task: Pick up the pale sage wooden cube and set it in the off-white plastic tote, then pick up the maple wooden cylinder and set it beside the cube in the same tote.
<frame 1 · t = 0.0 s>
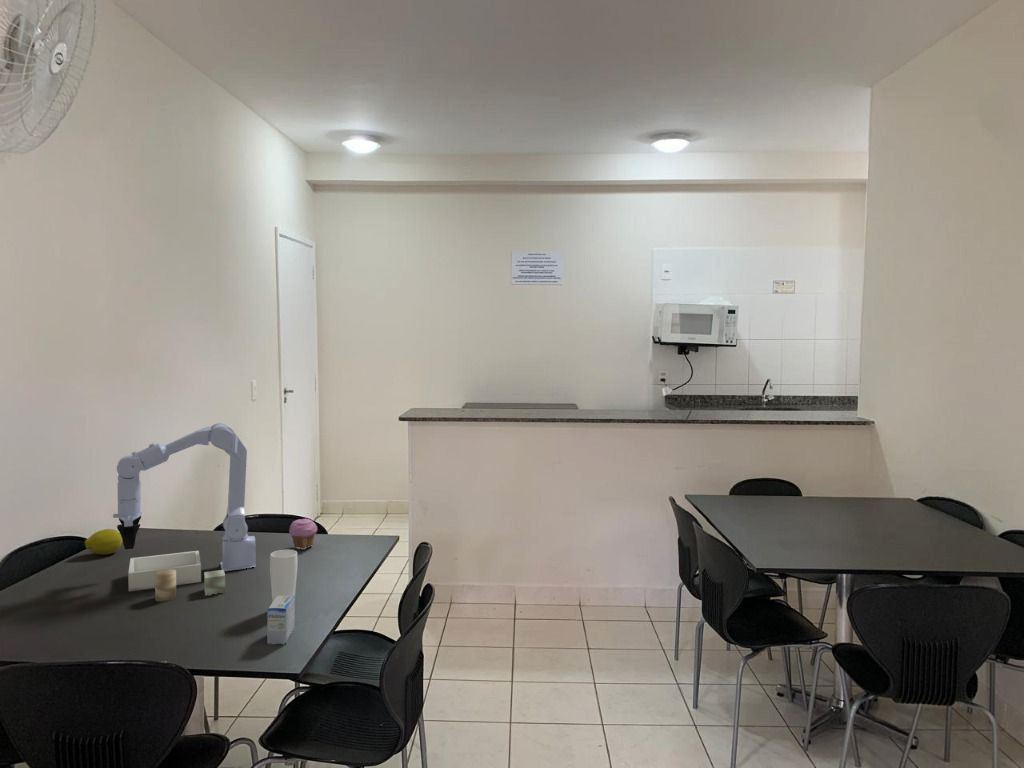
hand: (129, 545, 190), 10 cm above the table, tool pointing down, fingers open, 7 cm apart
drinking glass: (283, 610, 172), on the table
cupcake: (303, 548, 222), on the table
lemon: (104, 555, 211), on the table
sage cube: (214, 591, 183), on the table
medicine box: (281, 638, 156), on the table
tote: (165, 578, 192), on the table
wooden cylinder: (165, 598, 178), on the table
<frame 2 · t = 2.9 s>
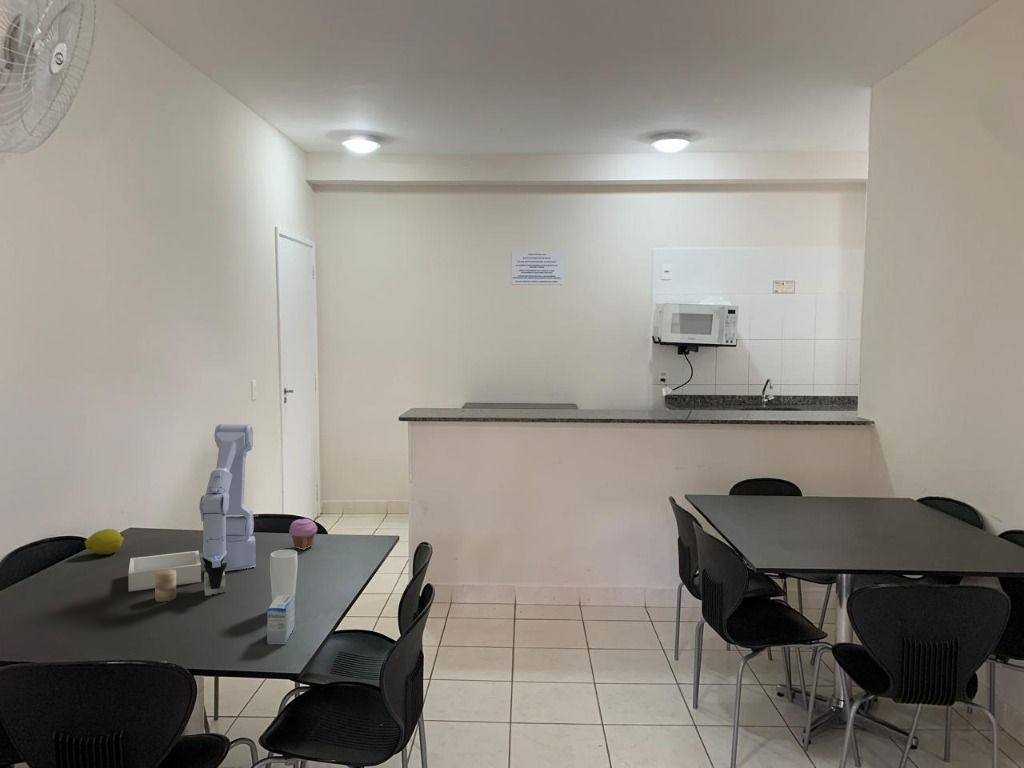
hand: (214, 585, 183), 2 cm above the table, tool pointing down, fingers closed on sage cube, 5 cm apart
sage cube: (214, 591, 183), on the table, touching gripper
everything else where it was.
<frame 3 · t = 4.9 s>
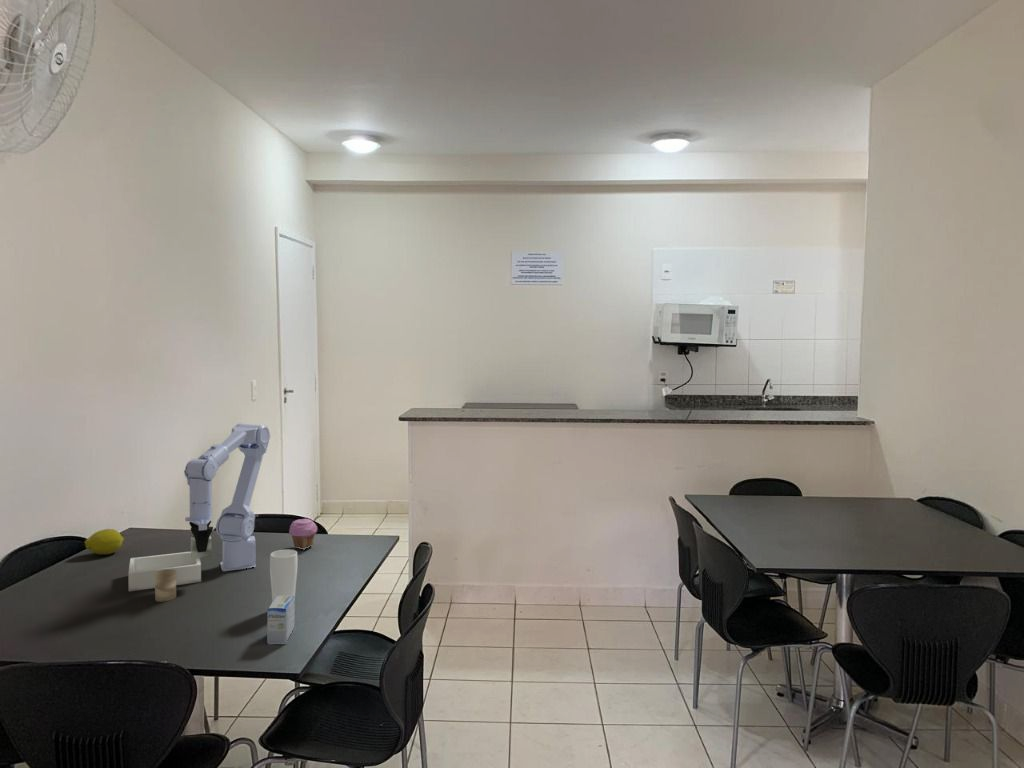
hand: (201, 548, 187), 10 cm above the table, tool pointing down, fingers closed on sage cube, 5 cm apart
sage cube: (201, 555, 187), point 9 cm above the table, touching gripper
everything else where it was.
when the fingers open (4 cm above the table, at t = 7.3 s): sage cube drops 1 cm, resting on tote.
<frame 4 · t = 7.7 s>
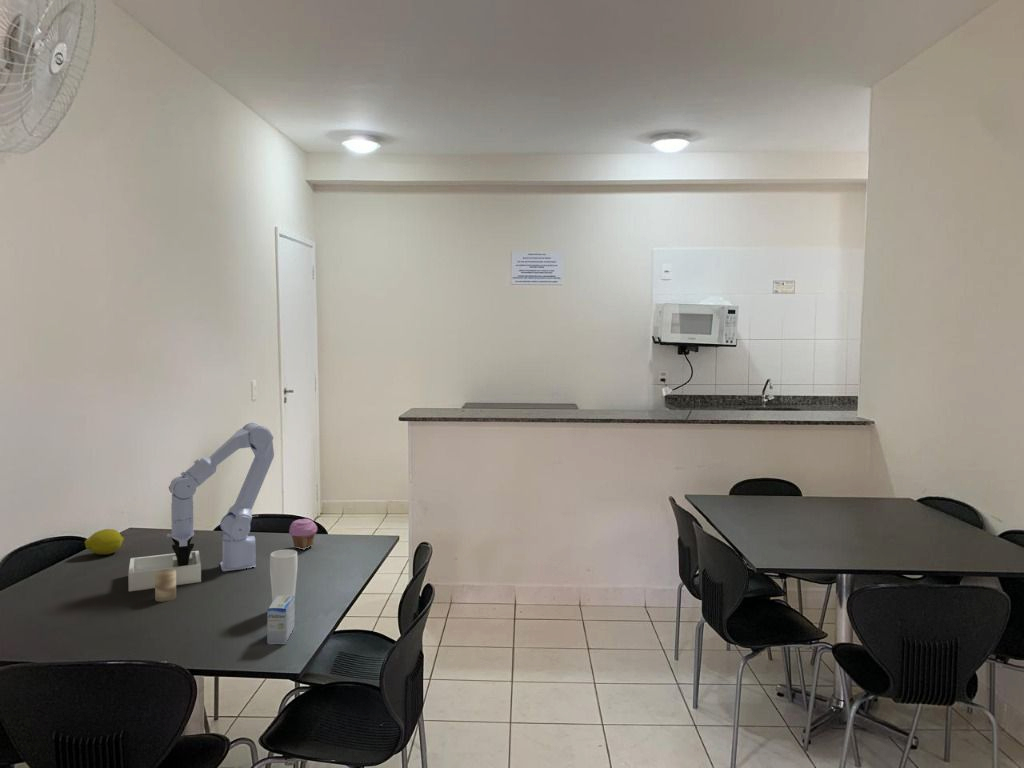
hand: (182, 563, 194), 4 cm above the table, tool pointing down, fingers open, 7 cm apart
sage cube: (182, 573, 194), point 1 cm above the table, touching tote
everything else where it was.
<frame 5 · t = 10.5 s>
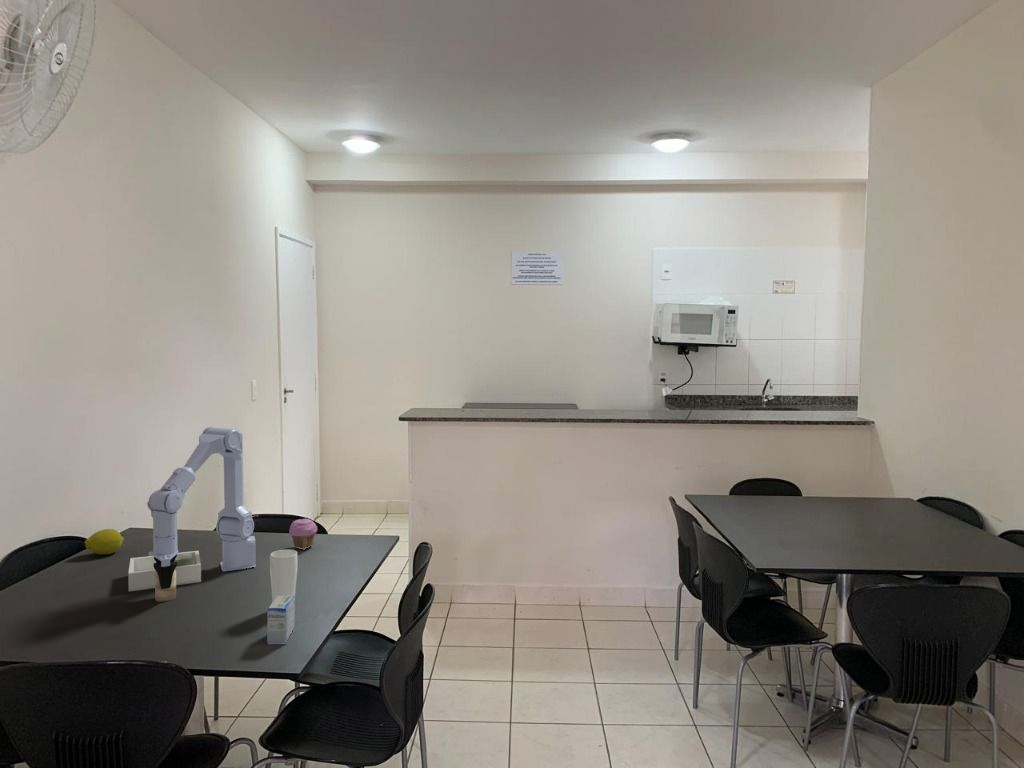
hand: (165, 584, 177), 4 cm above the table, tool pointing down, fingers closed on wooden cylinder, 5 cm apart
wooden cylinder: (165, 598, 178), on the table, touching gripper
everything else where it was.
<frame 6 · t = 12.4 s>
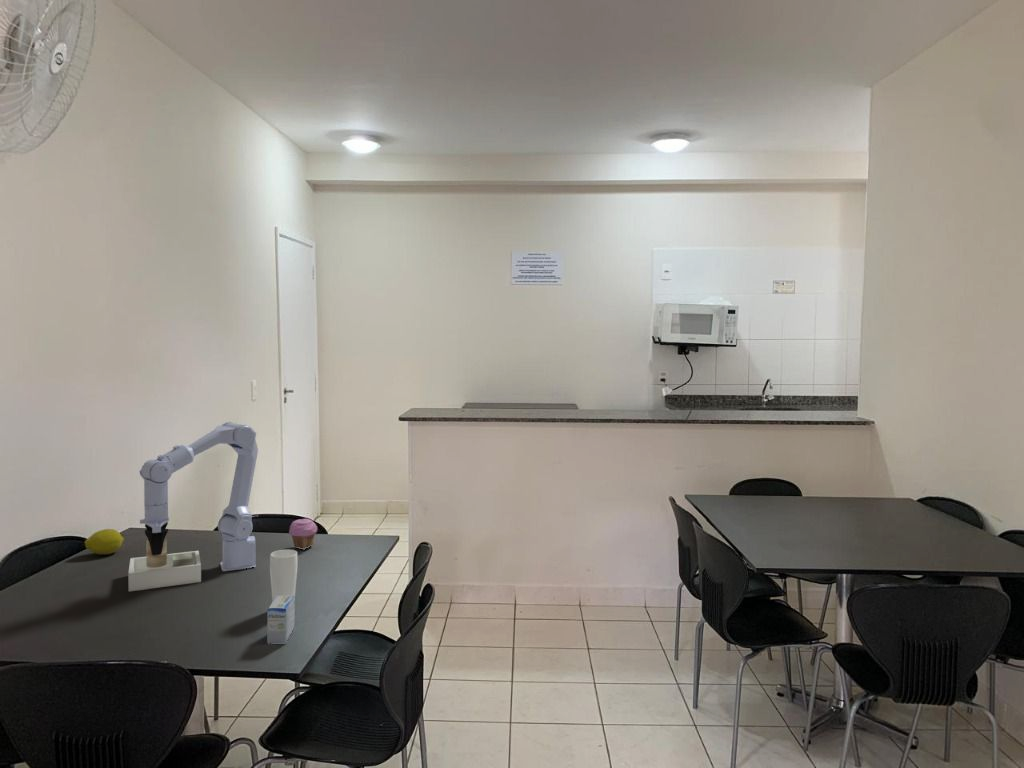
hand: (156, 551, 184), 10 cm above the table, tool pointing down, fingers closed on wooden cylinder, 5 cm apart
wooden cylinder: (156, 564, 184), point 7 cm above the table, touching gripper
everything else where it was.
when the fingers open (6 cm above the table, at t = 14.3 s): wooden cylinder drops 1 cm, resting on tote.
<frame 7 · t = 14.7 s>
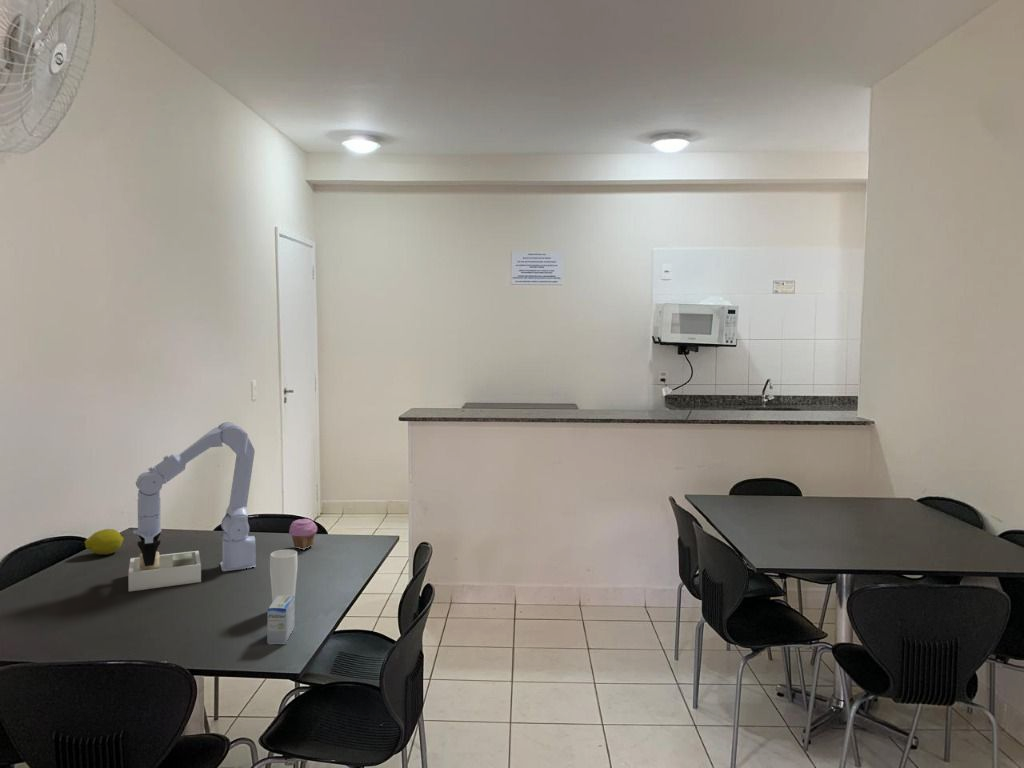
hand: (149, 561, 190), 6 cm above the table, tool pointing down, fingers open, 7 cm apart
wooden cylinder: (149, 577, 190), point 1 cm above the table, touching tote
everything else where it was.
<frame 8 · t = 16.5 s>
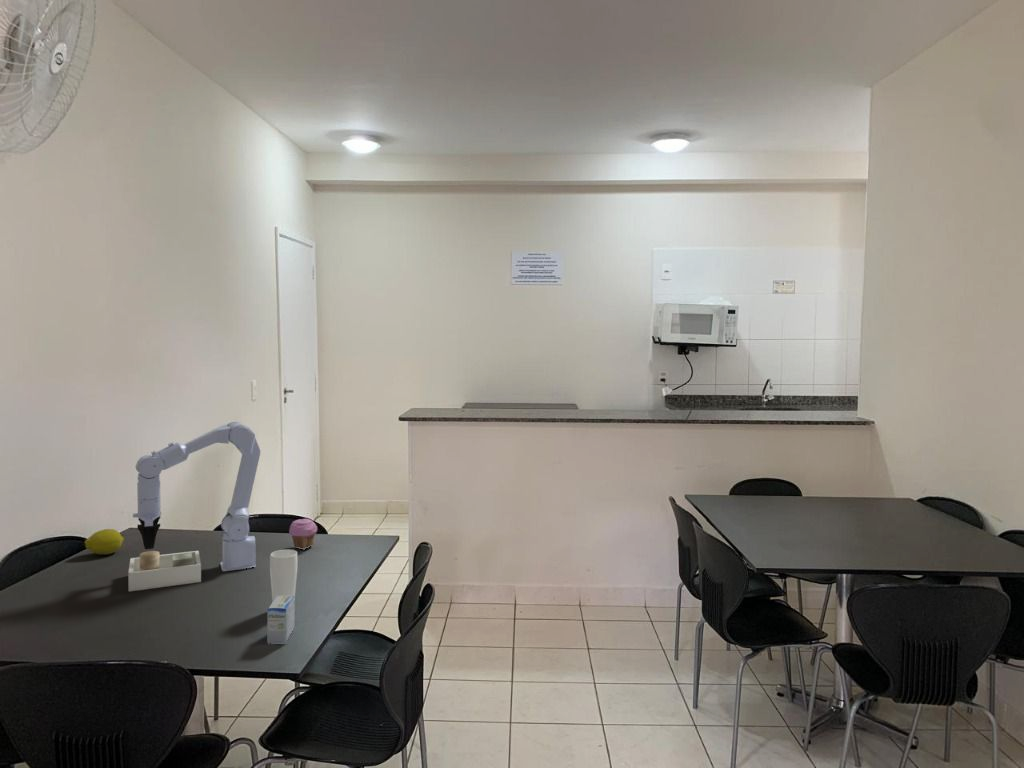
hand: (149, 544, 189), 10 cm above the table, tool pointing down, fingers open, 7 cm apart
nothing on the table moved.
at the end: sage cube inside the target area on the tote (4.4 cm from its centre), point 0.8 cm above the tote's base; wooden cylinder inside the target area on the tote (4.1 cm from its centre), point 0.8 cm above the tote's base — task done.
